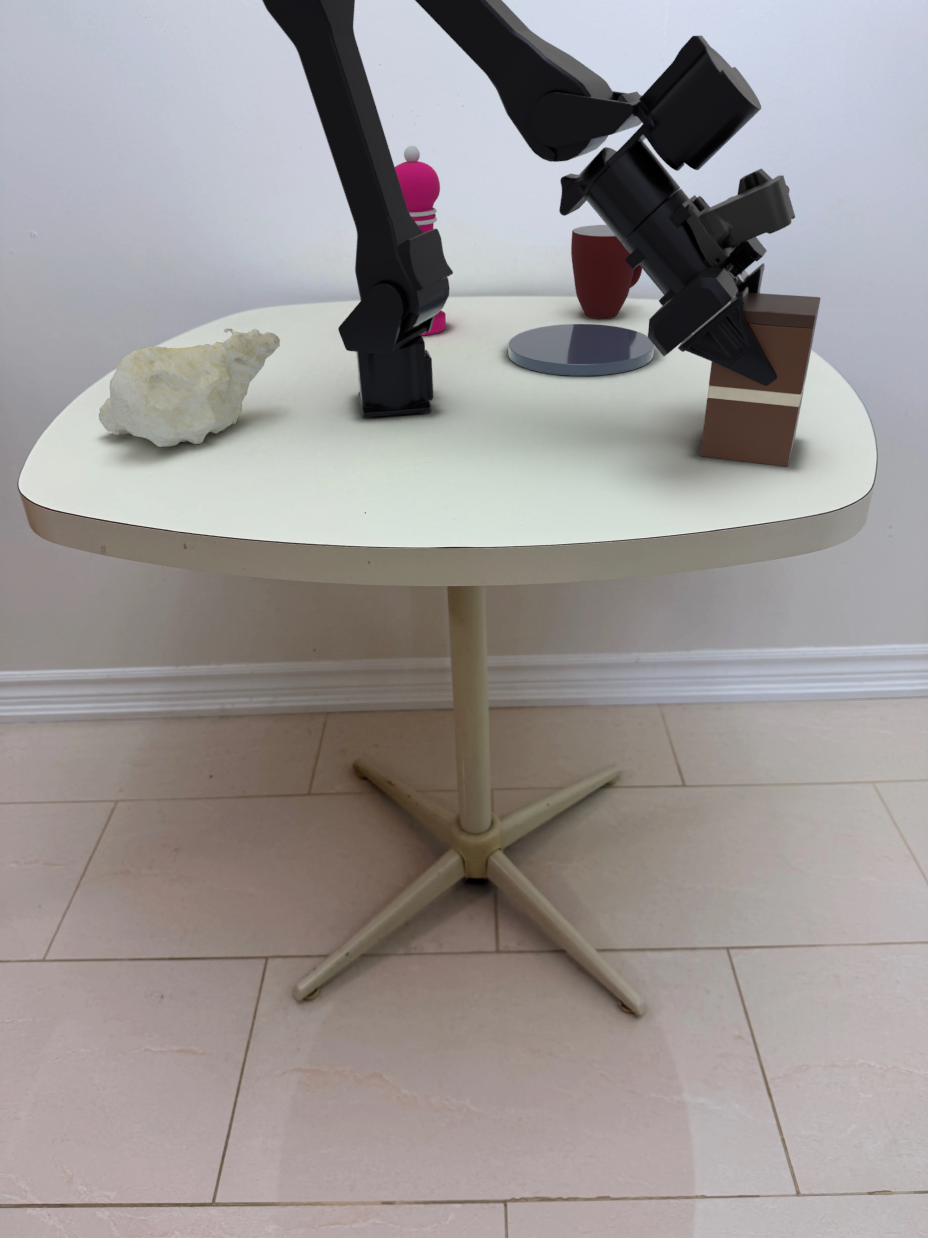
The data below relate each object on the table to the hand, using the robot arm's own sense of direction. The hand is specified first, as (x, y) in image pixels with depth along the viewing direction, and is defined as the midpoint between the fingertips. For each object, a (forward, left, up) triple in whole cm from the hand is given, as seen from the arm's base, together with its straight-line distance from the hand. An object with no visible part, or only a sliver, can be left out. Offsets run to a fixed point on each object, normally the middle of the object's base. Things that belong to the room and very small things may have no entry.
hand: (777, 371), depth 71 cm
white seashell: (-47, +17, -7) cm, 51 cm away
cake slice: (-1, +1, -7) cm, 7 cm away
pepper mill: (-23, +46, -7) cm, 52 cm away
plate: (-7, +31, -7) cm, 32 cm away
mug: (+1, +47, -7) cm, 47 cm away
